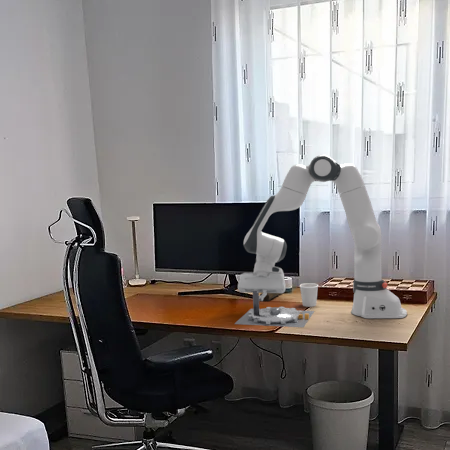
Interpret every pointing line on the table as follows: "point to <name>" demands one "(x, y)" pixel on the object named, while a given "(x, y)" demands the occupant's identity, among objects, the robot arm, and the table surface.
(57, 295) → the table surface
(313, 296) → the dixie cup
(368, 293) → the robot arm
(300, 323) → the base plate
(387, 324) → the table surface
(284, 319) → the sprocket
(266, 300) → the brown wooden log
